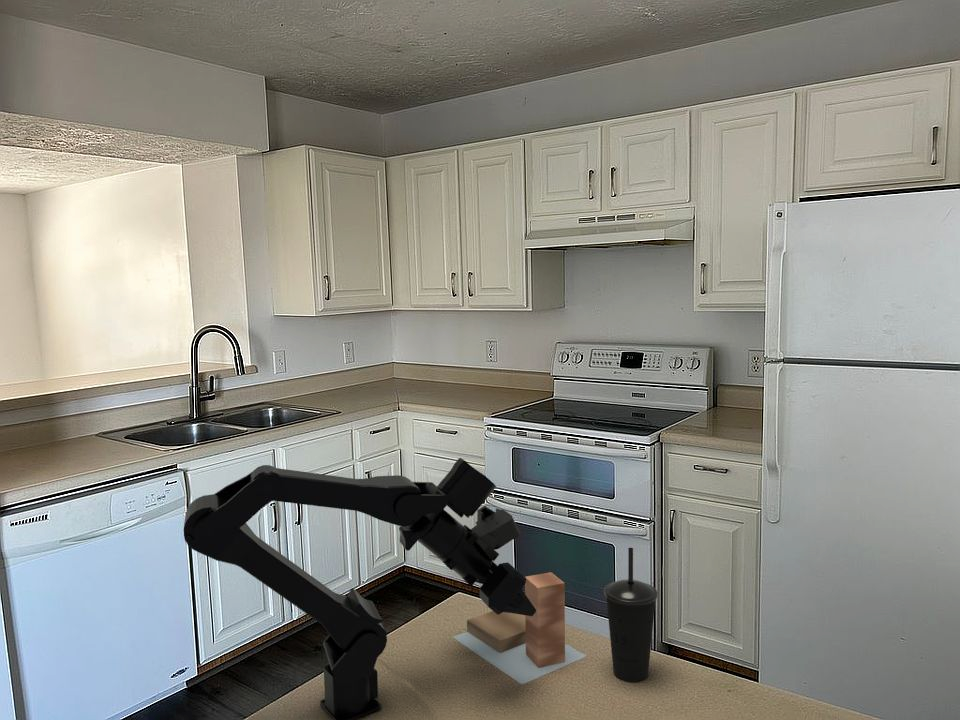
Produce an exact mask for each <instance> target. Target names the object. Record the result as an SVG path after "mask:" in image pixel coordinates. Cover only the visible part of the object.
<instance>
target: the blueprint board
mask: <svg viewBox="0 0 960 720" xmlns="http://www.w3.org/2000/svg"><path fill="white" fill-rule="evenodd" d="M452 639H454V640H456V641H457V642H458V643H460V644H462V645H463V646H465V647H466V648H467V649H469V651H470V650H471V651H472V652H473V653H475V654H476V655H478V656H479V657H481V658H482V659H484V660H485V661H486V662H488V663H490V664H491V665H492V666H494V667H495V668H497V669H498V670H500V671H502V672H503V673H505V674H506V675H507V676H509V677H510V678H511V679H513V680H515V681H516V682H517V683H519V684H520V685H524V684H526V683H529V682H531V681H532V682H533V680H536V679H538V678H541V677H543V676H545V675H547V674H550V673H552V672H554V671H556V670H559V669H561V668H564V667H566V666H568V665H570V664H573V663H575V662H577V661H580V660H582V659H584V658H586V657H588V656H587V655H586V654H584V653H583V652H581V651H579V650H577V649H575V648H574V647H572V646H570V645H569V644H568V643H565V662H563V663H559V664H554V665H550V666H546V667H541V668H538V667H537V666H536V665H535V664H534V663H533V662H532V660H531V659H530V658H529V657H528V656H527V655H526V643H524V644H522V645H519V646H517V647H514V648H512V649H509V650H507V651H504V652H502V653H499V652H498V651H496V650H495V649H493V648H492V647H490V646H489V645H487V644H486V643H484V642H483V641H481V640H479V639H478V638H476V637H475V636H473V635H472V634H470V633H469V632H467V631H465V632H463V633H460V634H456V635H454V636H452Z"/></svg>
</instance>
